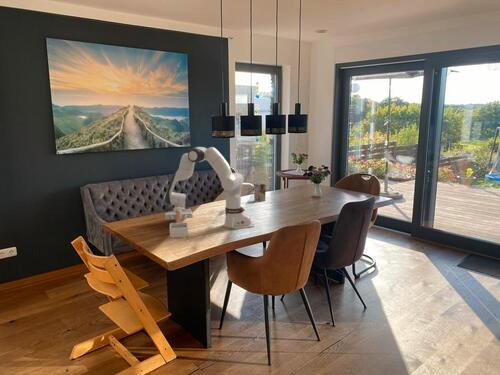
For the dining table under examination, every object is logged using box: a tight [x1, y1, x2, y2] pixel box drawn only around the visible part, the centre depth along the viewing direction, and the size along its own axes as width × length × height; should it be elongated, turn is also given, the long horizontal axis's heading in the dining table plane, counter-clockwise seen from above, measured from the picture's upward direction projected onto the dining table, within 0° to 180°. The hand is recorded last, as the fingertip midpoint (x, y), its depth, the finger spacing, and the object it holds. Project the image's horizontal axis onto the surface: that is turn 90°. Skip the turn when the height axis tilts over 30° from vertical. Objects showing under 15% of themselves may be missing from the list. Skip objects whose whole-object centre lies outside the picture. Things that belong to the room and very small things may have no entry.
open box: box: [169, 222, 189, 239], centre depth 266 cm, size 12×12×7 cm
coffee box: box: [253, 183, 266, 203], centre depth 364 cm, size 9×6×16 cm
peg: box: [175, 210, 183, 223], centre depth 278 cm, size 4×4×14 cm
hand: (178, 218), depth 277 cm, fingers open, 7 cm apart
